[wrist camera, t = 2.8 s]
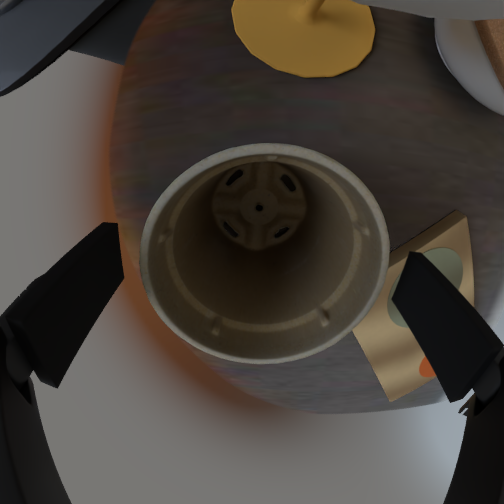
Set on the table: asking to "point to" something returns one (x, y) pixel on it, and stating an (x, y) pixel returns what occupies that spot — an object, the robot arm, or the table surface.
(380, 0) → the cup
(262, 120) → the table surface
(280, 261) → the flower pot
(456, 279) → the board
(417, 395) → the table surface
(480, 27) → the trinket box
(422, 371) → the circle
